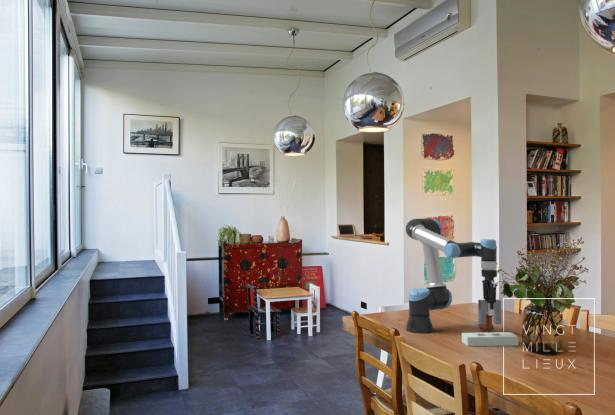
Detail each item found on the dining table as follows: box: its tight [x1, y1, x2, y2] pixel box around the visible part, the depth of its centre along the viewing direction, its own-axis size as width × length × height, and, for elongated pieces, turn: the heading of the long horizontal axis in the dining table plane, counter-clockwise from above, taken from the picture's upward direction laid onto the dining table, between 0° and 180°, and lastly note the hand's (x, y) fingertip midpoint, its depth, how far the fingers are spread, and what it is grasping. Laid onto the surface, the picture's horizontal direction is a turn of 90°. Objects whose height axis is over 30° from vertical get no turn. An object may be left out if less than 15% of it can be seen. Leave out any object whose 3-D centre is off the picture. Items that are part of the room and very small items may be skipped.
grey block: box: [477, 298, 502, 325], centre depth 257 cm, size 11×3×12 cm, turn 91°
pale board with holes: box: [461, 331, 519, 347], centre depth 257 cm, size 26×9×4 cm, turn 91°
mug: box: [477, 314, 495, 333], centre depth 281 cm, size 15×8×15 cm, turn 168°
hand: (489, 314), depth 257 cm, fingers closed on grey block, 3 cm apart
